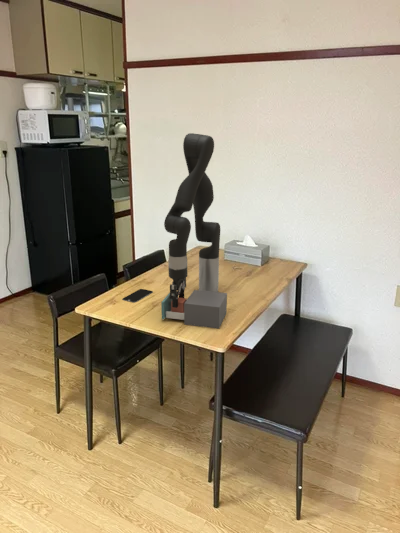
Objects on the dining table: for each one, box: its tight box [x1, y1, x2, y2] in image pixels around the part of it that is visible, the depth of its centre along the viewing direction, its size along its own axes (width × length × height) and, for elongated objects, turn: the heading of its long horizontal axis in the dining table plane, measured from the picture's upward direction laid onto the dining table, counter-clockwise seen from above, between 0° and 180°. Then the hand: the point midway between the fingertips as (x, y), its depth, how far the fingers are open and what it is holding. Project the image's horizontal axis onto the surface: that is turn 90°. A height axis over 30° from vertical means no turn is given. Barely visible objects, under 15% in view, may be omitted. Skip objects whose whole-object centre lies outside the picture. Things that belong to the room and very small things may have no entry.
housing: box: [183, 289, 228, 329], centre depth 174 cm, size 15×14×9 cm
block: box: [171, 296, 188, 313], centre depth 177 cm, size 5×5×5 cm
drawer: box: [160, 292, 184, 321], centre depth 176 cm, size 15×14×7 cm
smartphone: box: [122, 288, 154, 304], centre depth 198 cm, size 8×1×15 cm
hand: (178, 303), depth 177 cm, fingers open, 8 cm apart
